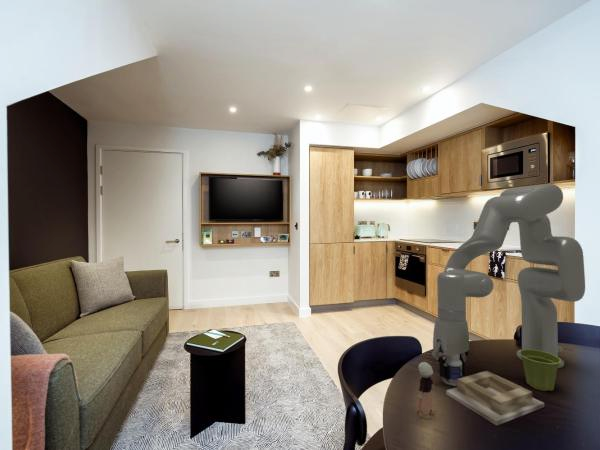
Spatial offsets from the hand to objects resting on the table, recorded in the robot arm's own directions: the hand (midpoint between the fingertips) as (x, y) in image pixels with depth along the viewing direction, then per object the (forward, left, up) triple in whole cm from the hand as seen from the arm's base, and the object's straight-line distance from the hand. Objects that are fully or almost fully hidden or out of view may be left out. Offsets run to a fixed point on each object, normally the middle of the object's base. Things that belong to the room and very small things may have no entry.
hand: (452, 375), depth 88 cm
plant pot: (-21, +12, -2) cm, 24 cm away
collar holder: (-2, +11, -2) cm, 11 cm away
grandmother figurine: (+19, +9, -2) cm, 21 cm away
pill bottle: (0, 0, -2) cm, 2 cm away
